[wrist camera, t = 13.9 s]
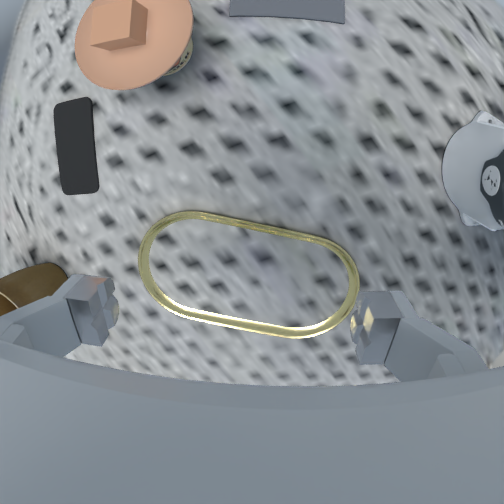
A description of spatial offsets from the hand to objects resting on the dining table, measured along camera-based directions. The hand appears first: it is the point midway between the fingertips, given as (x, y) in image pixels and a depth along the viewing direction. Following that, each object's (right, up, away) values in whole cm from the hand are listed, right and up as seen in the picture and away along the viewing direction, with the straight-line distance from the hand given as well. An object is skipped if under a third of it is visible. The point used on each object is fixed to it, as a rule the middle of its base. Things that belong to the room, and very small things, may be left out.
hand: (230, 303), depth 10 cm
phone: (-26, +18, +31) cm, 45 cm away
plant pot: (-37, -4, +42) cm, 56 cm away
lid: (-11, +24, +14) cm, 30 cm away
